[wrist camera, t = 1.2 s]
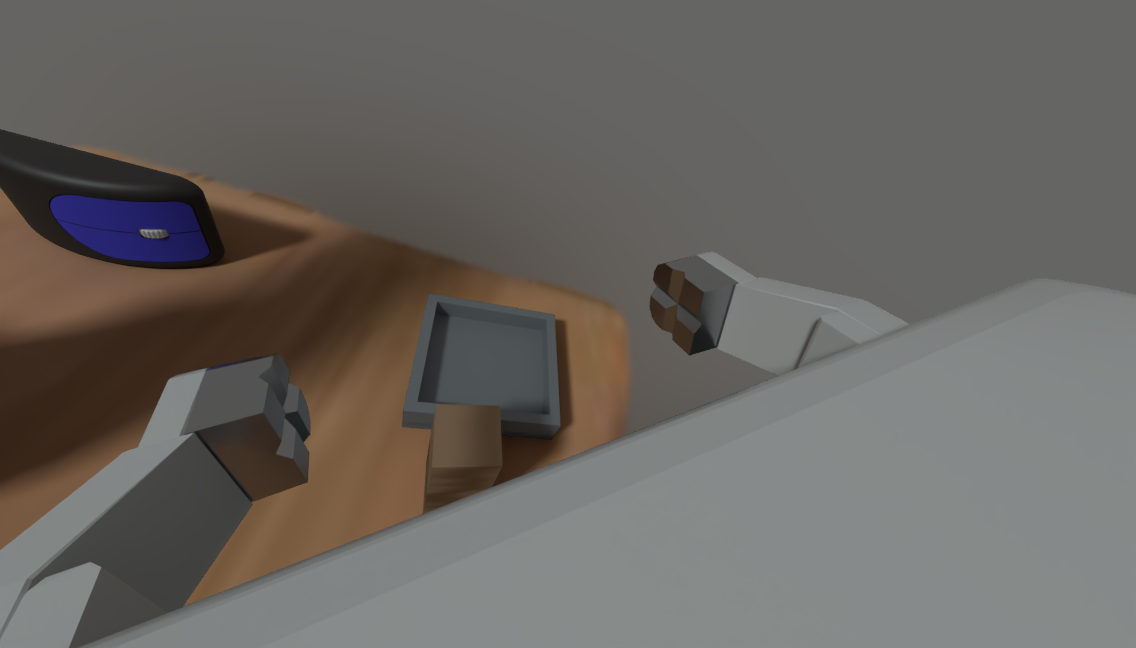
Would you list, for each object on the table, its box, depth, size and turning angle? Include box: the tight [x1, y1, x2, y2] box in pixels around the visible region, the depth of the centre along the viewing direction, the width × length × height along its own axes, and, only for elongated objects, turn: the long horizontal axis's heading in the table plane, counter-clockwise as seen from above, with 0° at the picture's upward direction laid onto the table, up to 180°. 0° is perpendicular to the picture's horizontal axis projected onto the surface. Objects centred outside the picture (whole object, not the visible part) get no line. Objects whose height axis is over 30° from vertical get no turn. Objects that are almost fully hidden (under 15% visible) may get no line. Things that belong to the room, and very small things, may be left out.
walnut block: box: [423, 404, 503, 514], centre depth 32 cm, size 4×4×10 cm
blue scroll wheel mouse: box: [0, 129, 225, 268], centre depth 36 cm, size 16×5×9 cm, turn 88°
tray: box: [402, 293, 561, 439], centre depth 43 cm, size 14×14×3 cm
